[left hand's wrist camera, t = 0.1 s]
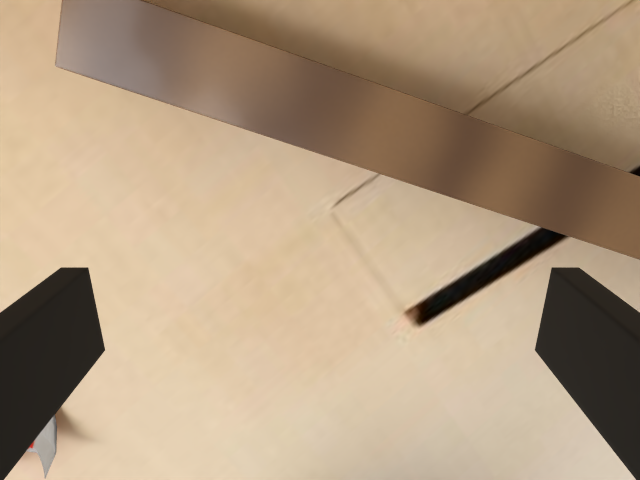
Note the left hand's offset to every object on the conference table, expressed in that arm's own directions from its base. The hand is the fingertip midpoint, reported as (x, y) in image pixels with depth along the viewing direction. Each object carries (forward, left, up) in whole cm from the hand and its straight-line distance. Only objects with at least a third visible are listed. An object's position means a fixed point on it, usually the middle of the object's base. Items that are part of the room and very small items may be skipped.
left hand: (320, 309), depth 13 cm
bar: (-2, -19, -28) cm, 34 cm away
